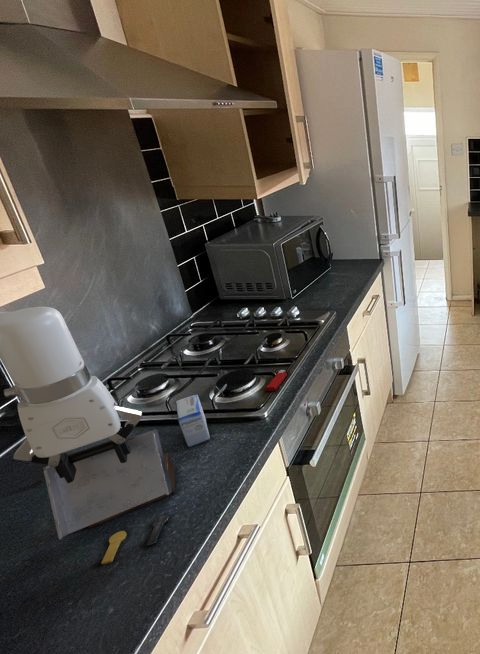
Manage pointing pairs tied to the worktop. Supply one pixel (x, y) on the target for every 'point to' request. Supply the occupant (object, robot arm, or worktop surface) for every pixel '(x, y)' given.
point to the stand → (172, 480)
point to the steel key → (157, 529)
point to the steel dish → (107, 482)
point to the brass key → (113, 546)
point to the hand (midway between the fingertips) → (98, 466)
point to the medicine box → (192, 420)
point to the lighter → (276, 380)
